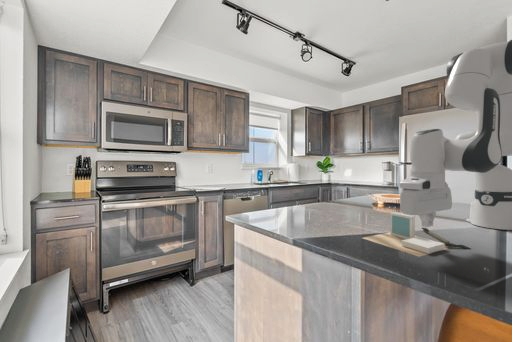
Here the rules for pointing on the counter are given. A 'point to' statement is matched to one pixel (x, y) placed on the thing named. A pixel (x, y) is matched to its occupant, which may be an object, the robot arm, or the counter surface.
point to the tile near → (423, 245)
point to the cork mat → (397, 243)
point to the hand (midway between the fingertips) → (427, 226)
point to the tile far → (402, 225)
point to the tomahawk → (444, 239)
